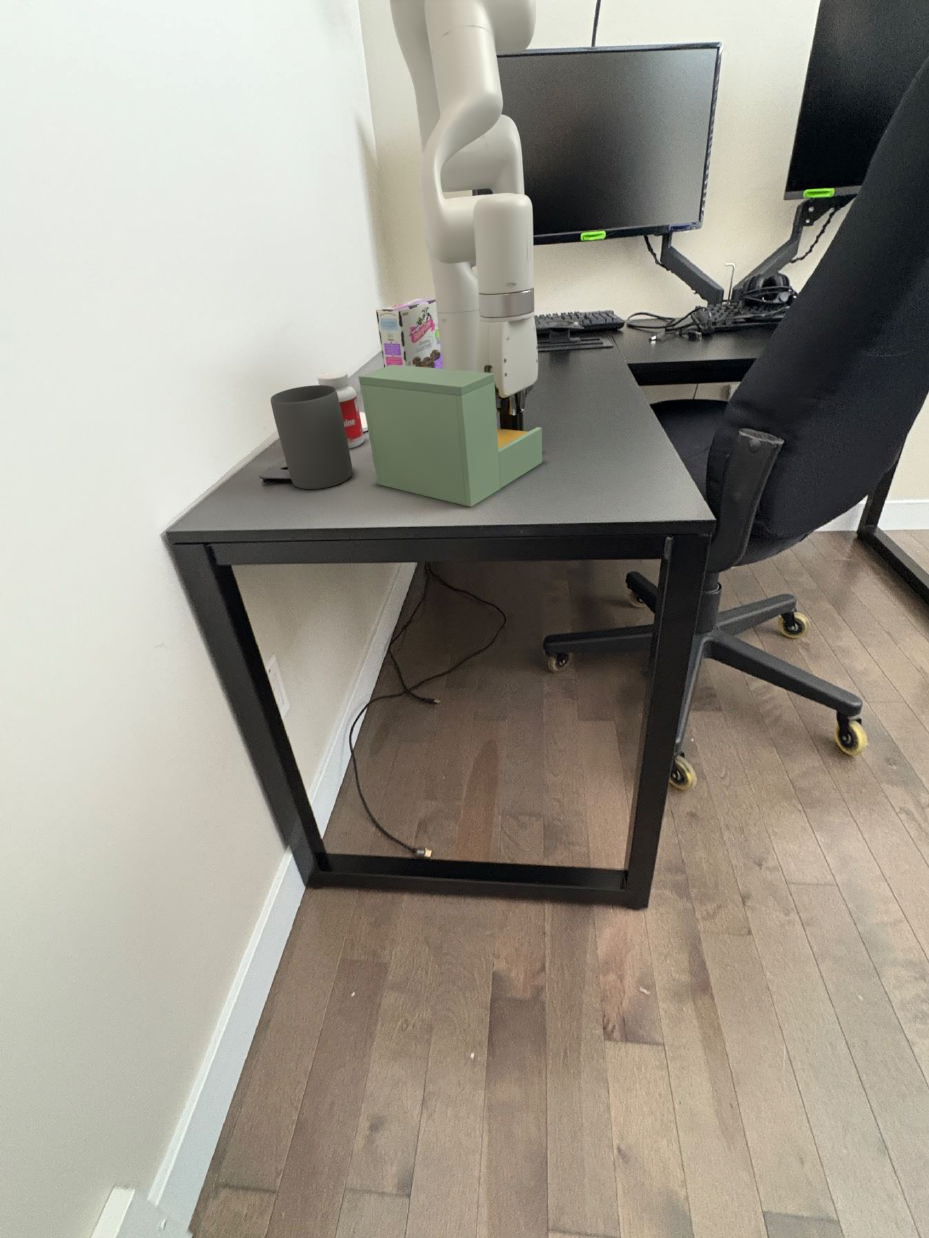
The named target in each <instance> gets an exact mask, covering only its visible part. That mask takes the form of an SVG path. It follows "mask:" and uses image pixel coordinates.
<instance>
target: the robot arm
mask: <svg viewBox="0 0 929 1238" xmlns="http://www.w3.org/2000/svg"><path fill="white" fill-rule="evenodd" d="M389 5H390V6H389V7H390V12H391V19H392V24H393V28H394V32H395V35H396V39H397V42H398V46H399V48H400V51H401V54H402V57H403V59H404V62H405V64H406V67H407V69H408V72H409V75H410V78H411V82H412V84H413V89H414V94H415V104H416V111H417V112H416V113H417V119H418V128H419V136H420V143H421V153H422V158H421V163H420V171H419V192H420V201H421V206H422V211H423V212H422V214H423V224H422V225H423V226H422V229H423V230H422V232H423V239H424V244H425V248H426V253H427V257H428V261H429V267H430V271H431V276H432V282H433V290H434V297H435V298H434V299H436V308H437V317H438V327H439V337H440V346H441V356H442V366H443V369H450V370H461V371H473V372H484V373H494V383H495V400H496V414H497V415H499V429H506V430H516V431H524V411H525V408H526V398H527V395H528V394H529V393H530V392H532V390H533V389H534V384H535V383H536V381H538V376H539V353H538V352H539V350H538V336H537V327H536V319H535V271H534V269H535V268H534V267H535V266H534V213H533V204H532V200H531V199H530V197H529V196H528V195H526V194H525V180H524V166H523V165H524V164H523V152H522V142H521V138H520V137H521V136H520V133H519V130H518V127H517V125H516V123H515V122H514V120H513V119H512V118H511V117H509V116H508V115H505V114H502V113H503V109H504V99H503V92H502V86H501V78H500V72H499V64H498V58H497V55H505V54H517V53H522V52H523V51H525V50H526V49H528V47H529V46H530V44H531V42H532V40H533V37H534V35H535V34H534V33H535V29H536V21H537V6H536V0H389ZM485 189H489V190H491V192H492V193H491V194H490V193H489V194H478V195H469V196H459V197H451V198H445V196H444V193H453V192H454V193H455V192H464V191H465V192H466V191H475V190H485ZM474 267H476V274H475V272H474V271H473V268H474Z"/></svg>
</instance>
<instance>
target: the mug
mask: <svg viewBox="0 0 929 1238" xmlns="http://www.w3.org/2000/svg"><path fill="white" fill-rule="evenodd" d="M270 405H271V410H272V415H273V418H274V422H275V426H276V431H277V433H278V434H277V435H278V437H279V442H280V445H281V449H282V452H283V456H284V461H285V463H286V467H287V470H288V474H289V477H290V480H291V482H292V484H293V485H294V487H296V488H298V489H304V490H321V489H327V488H331V487H334V486H338V485H340V484H342V483H344V482H346V481H348V480H349V479H350V478H351V477H352V476H353V463H352V458H351V452H350V449H349V446H348V441H347V436H346V431H345V426H344V421H343V416H342V412H341V407H340V403H339V399H338V394H337V391H336V389H335V388H334V387H332V386H327V385H319V384H313V385H303V386H297V387H293V388H289V389H285V390H282V391H279V392H277V393H275V394H273V395H272V396H271V397H270Z"/></svg>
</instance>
